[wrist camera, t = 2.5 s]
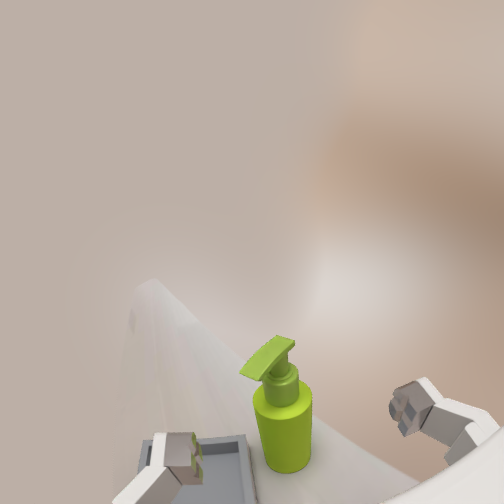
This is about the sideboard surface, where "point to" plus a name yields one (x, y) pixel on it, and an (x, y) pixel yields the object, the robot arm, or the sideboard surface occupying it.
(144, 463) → the dish
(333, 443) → the sideboard surface
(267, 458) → the soap dispenser
